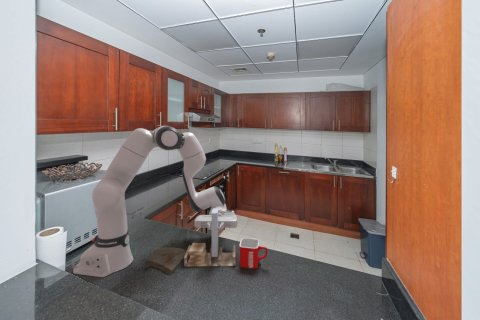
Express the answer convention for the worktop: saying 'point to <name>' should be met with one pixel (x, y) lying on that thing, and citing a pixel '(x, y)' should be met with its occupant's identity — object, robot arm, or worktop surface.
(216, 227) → the tall board
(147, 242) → the worktop surface
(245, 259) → the mug
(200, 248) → the offcut stack
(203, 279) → the worktop surface
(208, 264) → the offcut rack
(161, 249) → the brown flat slab
